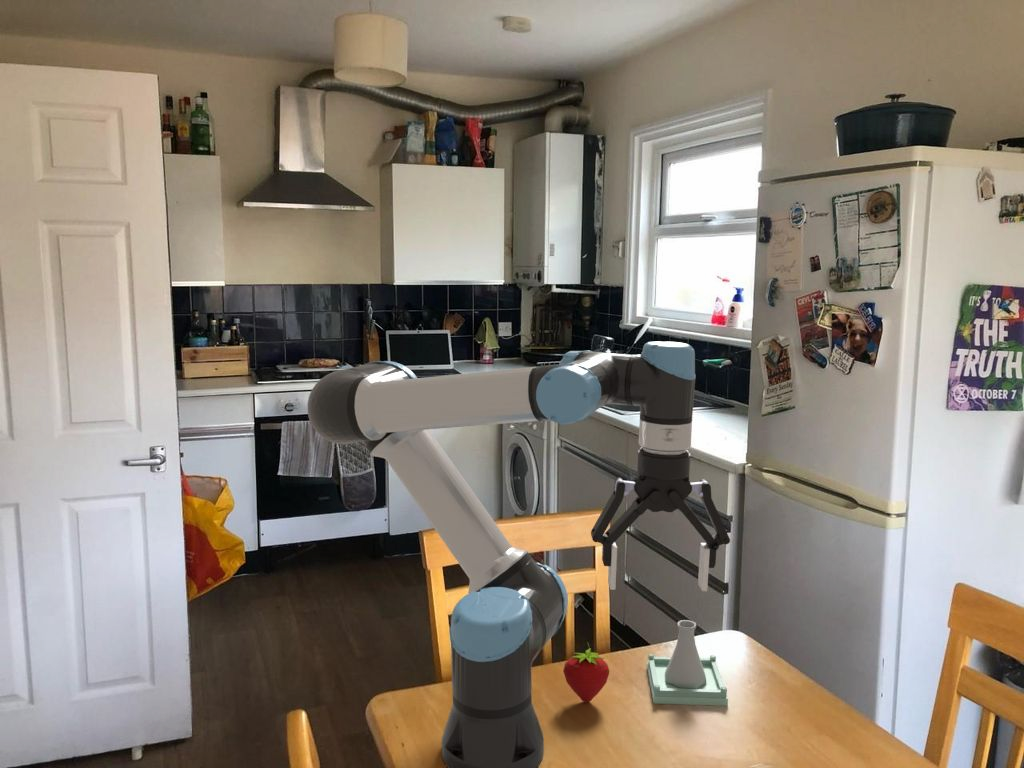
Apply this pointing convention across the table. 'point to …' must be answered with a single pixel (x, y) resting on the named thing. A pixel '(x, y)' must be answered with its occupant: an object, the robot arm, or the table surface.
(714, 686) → the base board
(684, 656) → the flask
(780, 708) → the table surface
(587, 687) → the strawberry
